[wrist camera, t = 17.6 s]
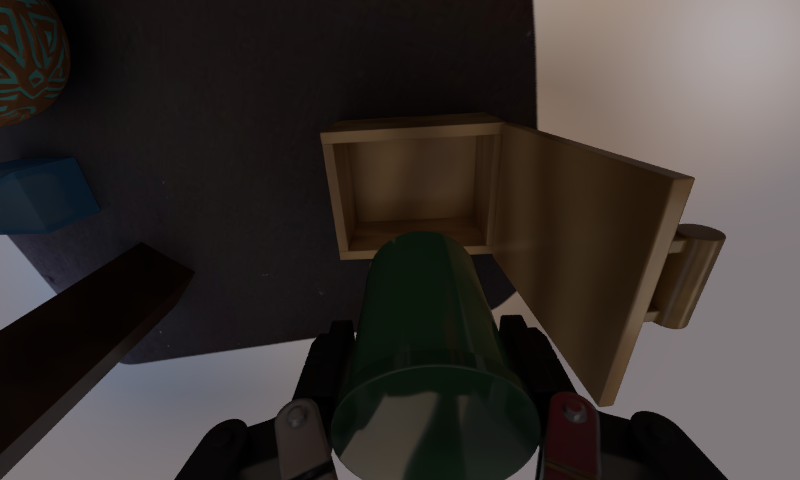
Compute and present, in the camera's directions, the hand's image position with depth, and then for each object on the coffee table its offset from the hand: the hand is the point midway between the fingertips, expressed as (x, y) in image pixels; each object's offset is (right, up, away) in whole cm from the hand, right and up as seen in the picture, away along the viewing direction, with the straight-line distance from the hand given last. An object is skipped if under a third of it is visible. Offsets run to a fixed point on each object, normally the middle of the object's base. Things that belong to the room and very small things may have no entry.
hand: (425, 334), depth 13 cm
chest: (0, +11, +22) cm, 25 cm away
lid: (+8, +4, +7) cm, 12 cm away
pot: (0, +2, +4) cm, 4 cm away
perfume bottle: (-39, +10, +23) cm, 47 cm away
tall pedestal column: (-32, -1, +29) cm, 43 cm away
